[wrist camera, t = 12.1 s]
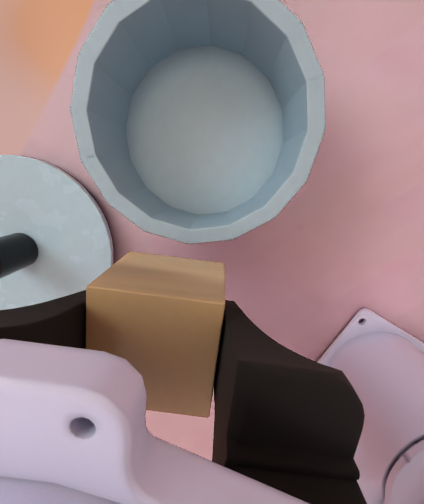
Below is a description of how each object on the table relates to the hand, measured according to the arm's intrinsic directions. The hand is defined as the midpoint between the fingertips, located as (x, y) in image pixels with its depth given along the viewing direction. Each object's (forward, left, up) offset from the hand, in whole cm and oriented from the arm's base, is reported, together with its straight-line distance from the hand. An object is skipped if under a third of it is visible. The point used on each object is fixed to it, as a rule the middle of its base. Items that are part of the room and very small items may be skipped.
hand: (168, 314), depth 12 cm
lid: (-5, +10, -8) cm, 14 cm away
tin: (+8, +3, -9) cm, 12 cm away
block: (0, 0, -1) cm, 1 cm away
